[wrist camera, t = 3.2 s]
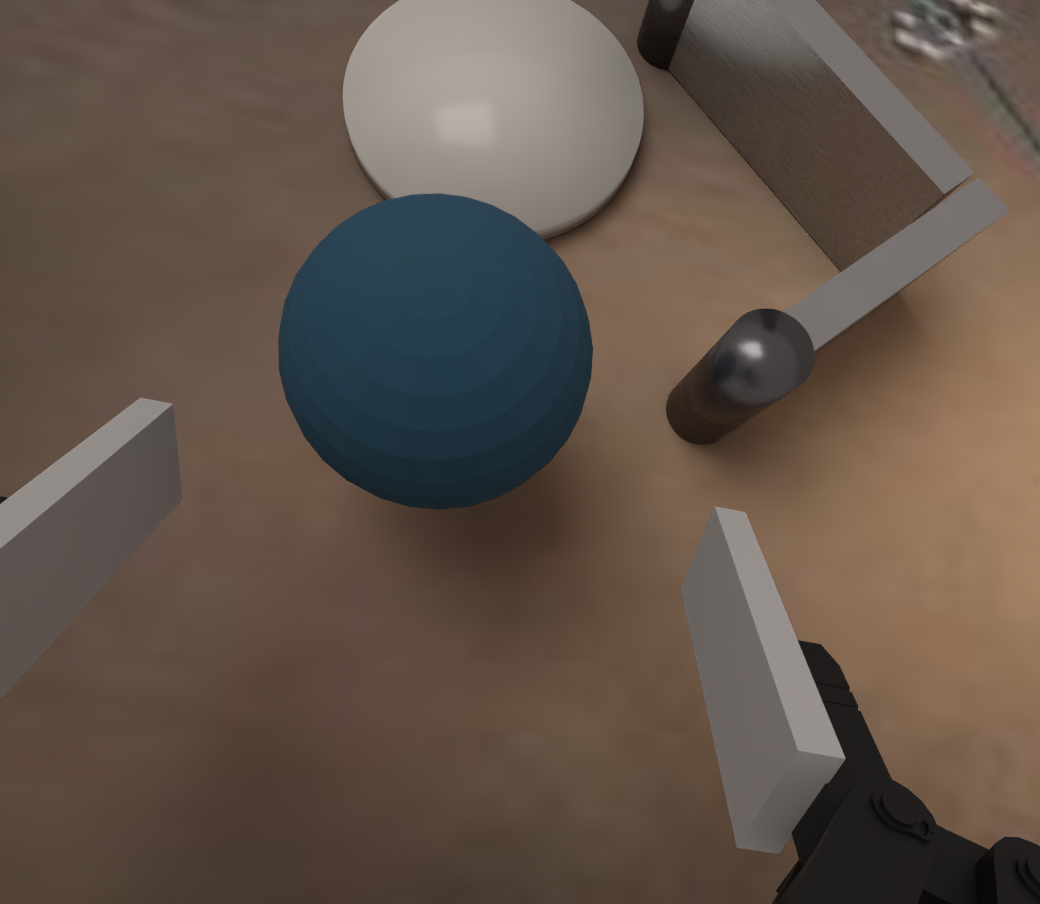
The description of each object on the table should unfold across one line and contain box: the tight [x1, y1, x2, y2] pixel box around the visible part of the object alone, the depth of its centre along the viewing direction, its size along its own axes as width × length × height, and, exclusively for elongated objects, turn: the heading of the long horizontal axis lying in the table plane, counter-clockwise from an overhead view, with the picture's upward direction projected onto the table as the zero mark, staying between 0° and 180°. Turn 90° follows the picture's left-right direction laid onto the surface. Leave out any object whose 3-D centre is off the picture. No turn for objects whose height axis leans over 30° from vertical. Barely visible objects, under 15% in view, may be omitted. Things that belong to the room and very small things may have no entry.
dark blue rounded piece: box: [278, 193, 593, 509], centre depth 20 cm, size 8×8×12 cm
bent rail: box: [637, 0, 1009, 444], centre depth 26 cm, size 18×13×6 cm
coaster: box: [343, 0, 644, 240], centre depth 29 cm, size 13×13×1 cm
